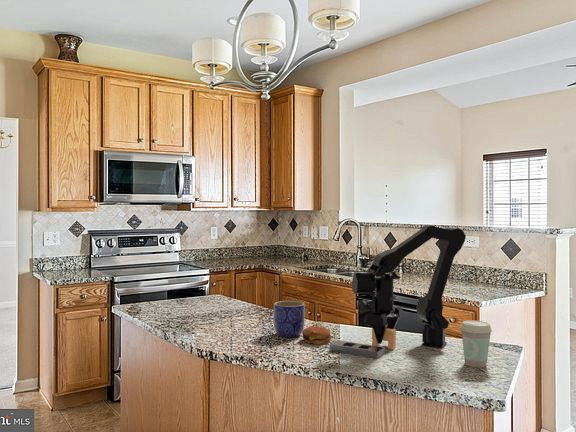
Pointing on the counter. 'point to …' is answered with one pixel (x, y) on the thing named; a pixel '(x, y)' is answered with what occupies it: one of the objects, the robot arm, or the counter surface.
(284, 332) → the planter
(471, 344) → the coffee cup
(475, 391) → the counter surface
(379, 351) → the rail
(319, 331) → the burger
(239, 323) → the counter surface
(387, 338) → the clip
